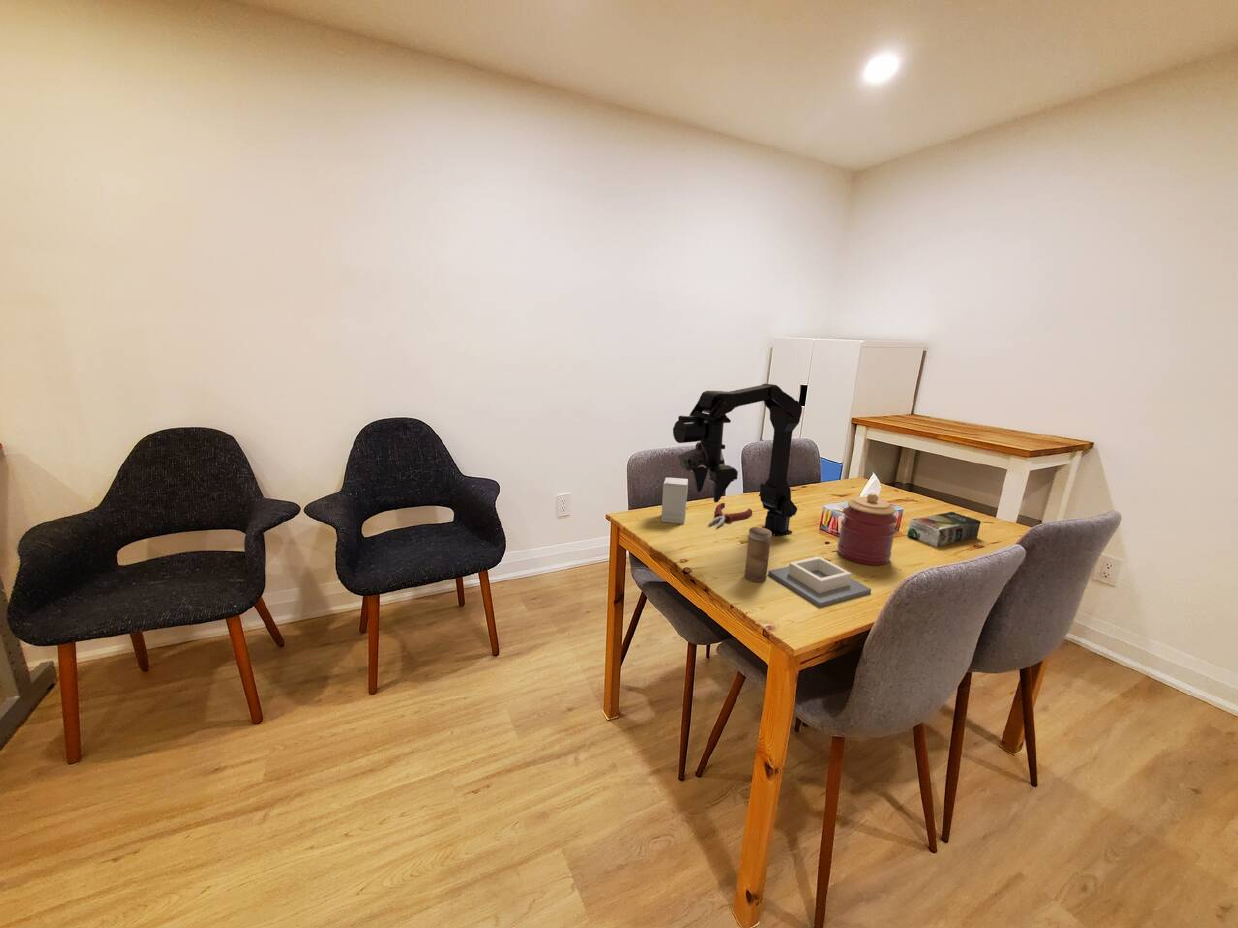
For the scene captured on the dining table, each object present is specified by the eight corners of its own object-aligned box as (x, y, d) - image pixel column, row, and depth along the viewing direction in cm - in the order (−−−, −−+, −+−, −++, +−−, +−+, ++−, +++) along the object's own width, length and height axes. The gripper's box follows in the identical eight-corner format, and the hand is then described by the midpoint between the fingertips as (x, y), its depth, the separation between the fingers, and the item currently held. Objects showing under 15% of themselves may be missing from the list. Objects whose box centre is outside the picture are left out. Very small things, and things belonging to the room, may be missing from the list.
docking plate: (816, 563, 125) (818, 549, 124) (870, 592, 111) (873, 577, 110) (768, 574, 118) (769, 559, 117) (819, 607, 104) (822, 590, 103)
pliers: (695, 525, 150) (695, 517, 149) (720, 508, 166) (721, 501, 165) (730, 534, 144) (731, 526, 143) (753, 515, 160) (754, 508, 159)
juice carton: (935, 548, 137) (939, 528, 136) (903, 536, 146) (906, 517, 144) (978, 539, 145) (983, 520, 144) (945, 528, 154) (949, 510, 152)
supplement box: (684, 524, 149) (687, 485, 146) (660, 521, 150) (662, 483, 147) (686, 516, 156) (688, 478, 153) (663, 513, 158) (665, 476, 154)
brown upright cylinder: (756, 571, 120) (761, 525, 117) (770, 580, 115) (776, 533, 112) (739, 574, 118) (744, 528, 115) (753, 584, 113) (759, 536, 110)
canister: (826, 549, 134) (835, 488, 130) (859, 542, 139) (869, 484, 135) (865, 569, 122) (877, 503, 118) (901, 562, 128) (913, 498, 123)
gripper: (668, 434, 132) (665, 488, 136) (701, 449, 115) (697, 511, 119) (704, 432, 136) (700, 485, 140) (741, 447, 119) (736, 507, 123)
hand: (707, 496), depth 131 cm, fingers open, 9 cm apart
